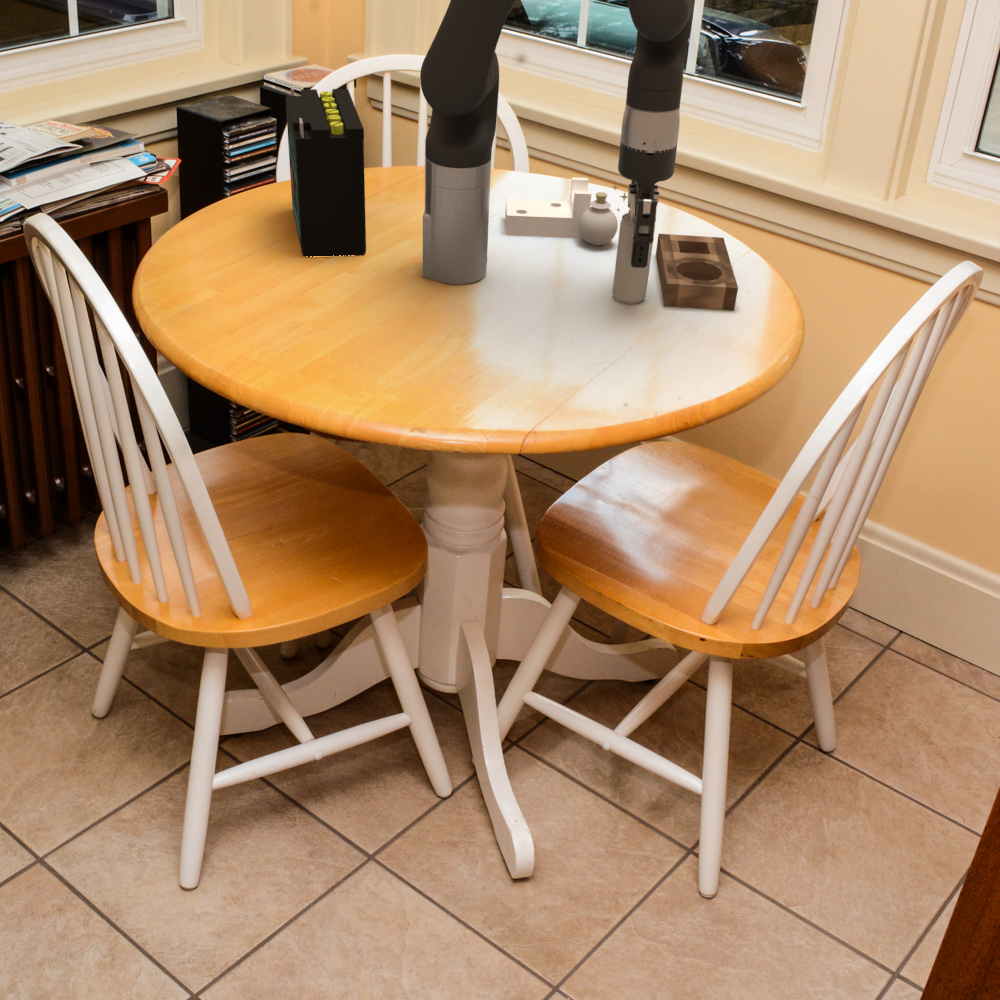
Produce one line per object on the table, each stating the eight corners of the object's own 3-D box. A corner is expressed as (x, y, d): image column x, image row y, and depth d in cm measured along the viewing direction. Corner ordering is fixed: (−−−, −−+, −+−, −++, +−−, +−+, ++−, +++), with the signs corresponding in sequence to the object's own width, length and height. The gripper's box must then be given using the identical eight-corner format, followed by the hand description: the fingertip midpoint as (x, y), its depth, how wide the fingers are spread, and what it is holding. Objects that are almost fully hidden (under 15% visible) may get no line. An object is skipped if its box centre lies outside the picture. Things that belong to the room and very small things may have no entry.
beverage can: (643, 307, 159) (654, 227, 152) (609, 302, 160) (619, 222, 153) (646, 293, 163) (657, 214, 156) (614, 288, 164) (623, 210, 157)
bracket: (583, 223, 185) (587, 178, 180) (586, 239, 179) (591, 194, 174) (504, 219, 184) (507, 174, 180) (505, 236, 178) (508, 190, 174)
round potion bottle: (578, 234, 180) (584, 173, 174) (624, 238, 179) (631, 177, 173) (576, 249, 175) (582, 187, 169) (624, 253, 174) (631, 191, 169)
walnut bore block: (664, 306, 160) (667, 283, 158) (655, 254, 175) (658, 233, 172) (733, 310, 160) (738, 288, 158) (719, 258, 174) (723, 237, 172)
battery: (292, 209, 182) (284, 84, 171) (351, 207, 184) (347, 83, 173) (302, 258, 167) (294, 124, 156) (366, 255, 169) (363, 122, 158)
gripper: (618, 121, 154) (608, 233, 163) (623, 155, 142) (612, 274, 152) (673, 123, 154) (660, 235, 163) (682, 158, 142) (667, 276, 152)
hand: (636, 254), depth 158 cm, fingers open, 8 cm apart
